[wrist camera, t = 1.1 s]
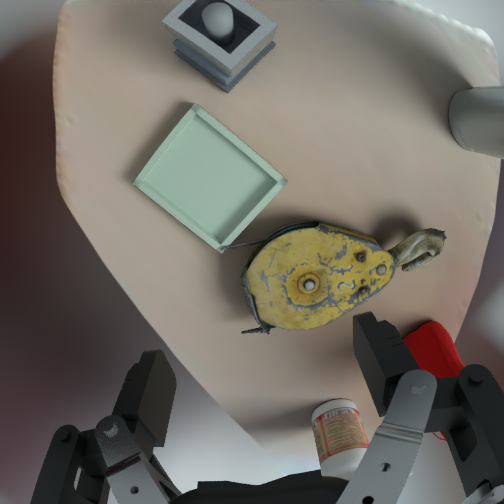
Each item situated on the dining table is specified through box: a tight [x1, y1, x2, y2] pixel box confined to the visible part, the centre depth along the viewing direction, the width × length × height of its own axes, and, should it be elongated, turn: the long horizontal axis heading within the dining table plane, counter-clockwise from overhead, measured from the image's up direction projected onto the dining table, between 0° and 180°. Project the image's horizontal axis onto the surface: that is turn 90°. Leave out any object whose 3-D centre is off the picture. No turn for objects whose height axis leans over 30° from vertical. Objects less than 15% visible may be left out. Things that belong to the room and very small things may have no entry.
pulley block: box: [220, 220, 447, 334], centre depth 37 cm, size 14×6×30 cm
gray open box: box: [162, 0, 278, 79], centre depth 22 cm, size 6×8×5 cm
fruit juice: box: [311, 399, 369, 481], centre depth 39 cm, size 9×9×28 cm
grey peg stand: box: [173, 2, 275, 93], centre depth 23 cm, size 8×8×12 cm
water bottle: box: [403, 321, 465, 441], centre depth 35 cm, size 9×11×25 cm
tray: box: [133, 103, 288, 254], centre depth 34 cm, size 12×14×2 cm
